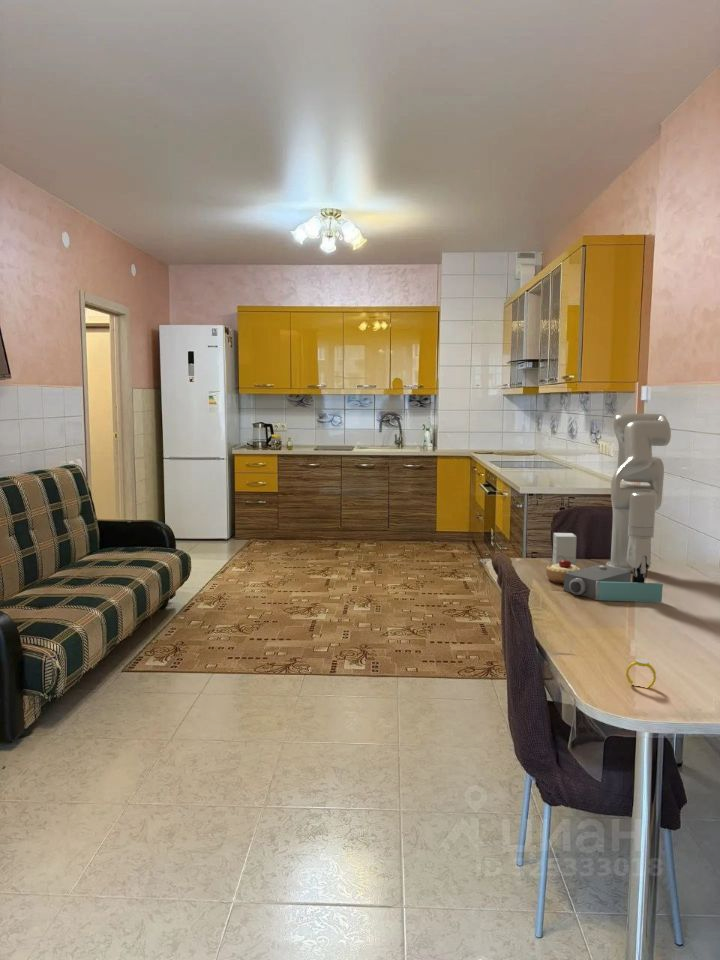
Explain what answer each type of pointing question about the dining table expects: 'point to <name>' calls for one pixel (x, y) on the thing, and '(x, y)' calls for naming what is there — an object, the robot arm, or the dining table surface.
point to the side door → (628, 591)
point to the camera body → (593, 579)
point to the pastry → (559, 570)
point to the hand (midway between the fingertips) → (637, 588)
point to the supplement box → (564, 547)
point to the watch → (641, 663)
